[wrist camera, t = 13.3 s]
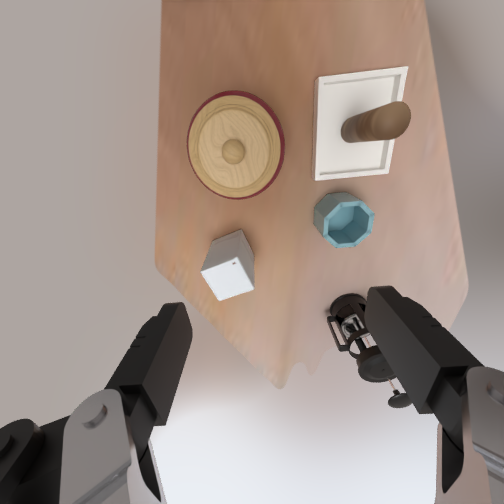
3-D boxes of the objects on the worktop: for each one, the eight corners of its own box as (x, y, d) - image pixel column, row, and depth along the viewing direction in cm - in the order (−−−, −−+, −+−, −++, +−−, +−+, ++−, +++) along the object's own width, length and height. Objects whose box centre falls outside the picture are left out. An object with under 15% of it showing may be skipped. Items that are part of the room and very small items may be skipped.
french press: (370, 290, 53) (443, 383, 33) (367, 318, 58) (431, 415, 37) (322, 297, 54) (364, 390, 34) (323, 323, 59) (361, 421, 38)
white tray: (314, 81, 34) (318, 76, 32) (398, 71, 34) (408, 66, 31) (311, 178, 41) (315, 180, 39) (380, 171, 40) (388, 173, 38)
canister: (199, 107, 36) (157, 81, 20) (276, 103, 36) (294, 72, 20) (210, 186, 42) (184, 213, 26) (276, 183, 42) (290, 208, 26)
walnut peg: (341, 118, 36) (378, 104, 25) (365, 114, 36) (413, 98, 25) (340, 144, 38) (374, 142, 27) (363, 141, 37) (407, 137, 26)
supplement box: (211, 240, 47) (198, 270, 36) (242, 228, 46) (238, 256, 35) (226, 266, 50) (218, 302, 39) (255, 256, 49) (255, 290, 38)
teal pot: (314, 194, 43) (325, 203, 36) (358, 190, 42) (377, 199, 36) (313, 234, 46) (322, 249, 40) (353, 231, 46) (369, 245, 40)
